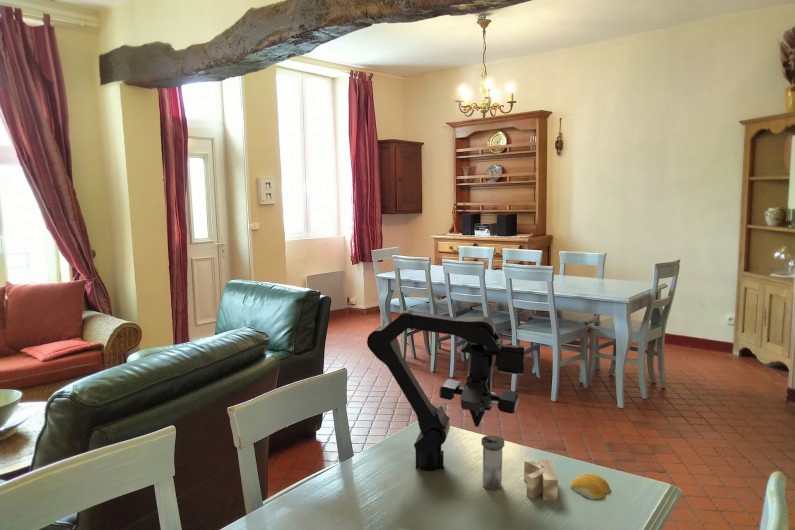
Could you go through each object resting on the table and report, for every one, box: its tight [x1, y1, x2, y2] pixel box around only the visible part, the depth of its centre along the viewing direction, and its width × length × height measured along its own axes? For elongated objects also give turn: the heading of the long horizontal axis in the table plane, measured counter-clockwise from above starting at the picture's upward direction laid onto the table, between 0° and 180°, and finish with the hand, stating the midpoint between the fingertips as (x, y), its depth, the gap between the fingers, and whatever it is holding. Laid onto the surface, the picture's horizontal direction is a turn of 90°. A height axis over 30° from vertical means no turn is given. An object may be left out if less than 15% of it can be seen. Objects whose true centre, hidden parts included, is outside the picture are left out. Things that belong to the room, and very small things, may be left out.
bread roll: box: [569, 473, 611, 500], centre depth 132 cm, size 8×9×4 cm
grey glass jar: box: [481, 435, 505, 491], centre depth 132 cm, size 5×5×11 cm
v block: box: [523, 458, 559, 502], centre depth 131 cm, size 6×10×5 cm, turn 172°
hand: (477, 426), depth 142 cm, fingers closed
